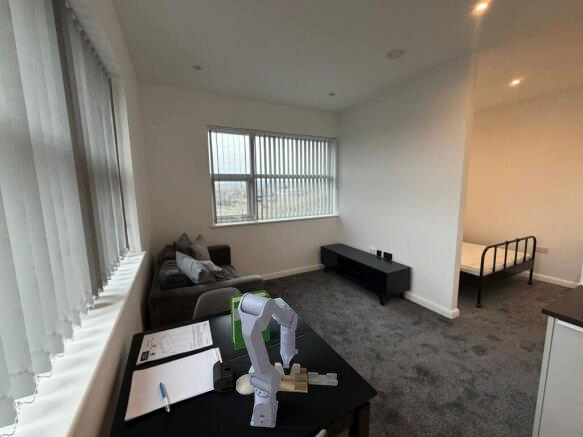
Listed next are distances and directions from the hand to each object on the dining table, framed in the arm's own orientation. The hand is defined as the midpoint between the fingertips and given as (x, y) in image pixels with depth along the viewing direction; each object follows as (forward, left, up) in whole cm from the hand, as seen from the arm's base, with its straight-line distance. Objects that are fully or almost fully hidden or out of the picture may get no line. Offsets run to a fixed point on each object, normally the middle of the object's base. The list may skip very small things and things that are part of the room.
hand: (287, 371), depth 98 cm
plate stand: (0, -14, -3) cm, 14 cm away
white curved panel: (0, 0, -3) cm, 3 cm away
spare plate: (-4, +16, -4) cm, 16 cm away
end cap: (-4, +26, -4) cm, 26 cm away
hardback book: (+23, +20, -4) cm, 31 cm away
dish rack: (-2, 0, -3) cm, 4 cm away
